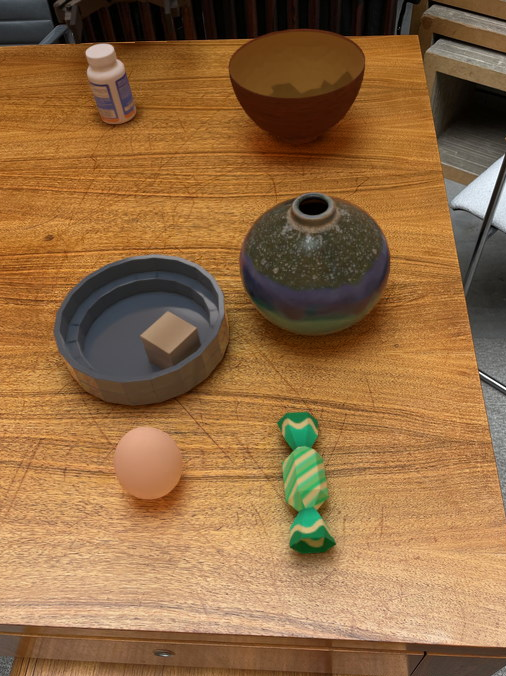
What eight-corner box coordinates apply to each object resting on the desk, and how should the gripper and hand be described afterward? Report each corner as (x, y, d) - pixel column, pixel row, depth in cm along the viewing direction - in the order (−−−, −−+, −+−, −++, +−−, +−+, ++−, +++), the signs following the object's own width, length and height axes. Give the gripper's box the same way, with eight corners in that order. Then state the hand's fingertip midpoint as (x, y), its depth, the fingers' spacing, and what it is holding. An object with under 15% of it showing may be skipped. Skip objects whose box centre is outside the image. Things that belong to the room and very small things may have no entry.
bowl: (380, 112, 92) (386, 41, 84) (329, 182, 83) (330, 110, 75) (273, 88, 97) (268, 20, 89) (213, 151, 88) (202, 81, 80)
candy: (270, 428, 59) (293, 405, 57) (301, 436, 61) (325, 414, 58) (281, 552, 52) (308, 533, 49) (316, 557, 54) (344, 539, 51)
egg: (163, 443, 60) (145, 397, 54) (201, 482, 57) (187, 439, 51) (113, 482, 58) (88, 439, 52) (150, 525, 55) (128, 484, 49)
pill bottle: (130, 101, 97) (113, 36, 89) (141, 118, 94) (124, 52, 86) (96, 112, 96) (75, 47, 88) (106, 129, 93) (85, 63, 85)
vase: (379, 366, 64) (390, 269, 53) (231, 350, 66) (213, 254, 56) (391, 261, 73) (402, 160, 62) (260, 250, 75) (249, 151, 65)
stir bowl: (34, 367, 67) (18, 339, 63) (136, 265, 75) (127, 236, 72) (165, 435, 61) (155, 409, 57) (260, 316, 69) (256, 286, 66)
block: (148, 360, 66) (139, 335, 62) (175, 336, 67) (167, 310, 64) (177, 378, 64) (169, 353, 61) (203, 353, 66) (197, 327, 62)
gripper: (202, -15, 108) (212, 44, 95) (55, 3, 107) (44, 65, 94) (195, -66, 102) (204, -10, 89) (39, -48, 101) (25, 11, 88)
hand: (122, 29), depth 92 cm, fingers open, 13 cm apart
